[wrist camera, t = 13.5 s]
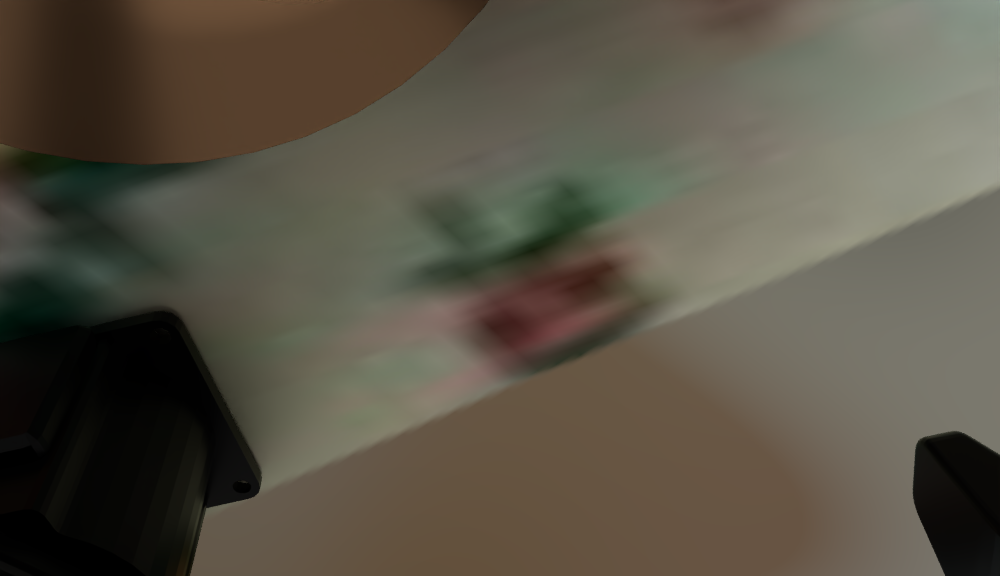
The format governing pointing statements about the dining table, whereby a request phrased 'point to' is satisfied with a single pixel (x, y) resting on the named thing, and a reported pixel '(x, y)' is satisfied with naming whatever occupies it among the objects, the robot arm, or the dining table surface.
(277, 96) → the stop pin
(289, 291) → the dining table surface
